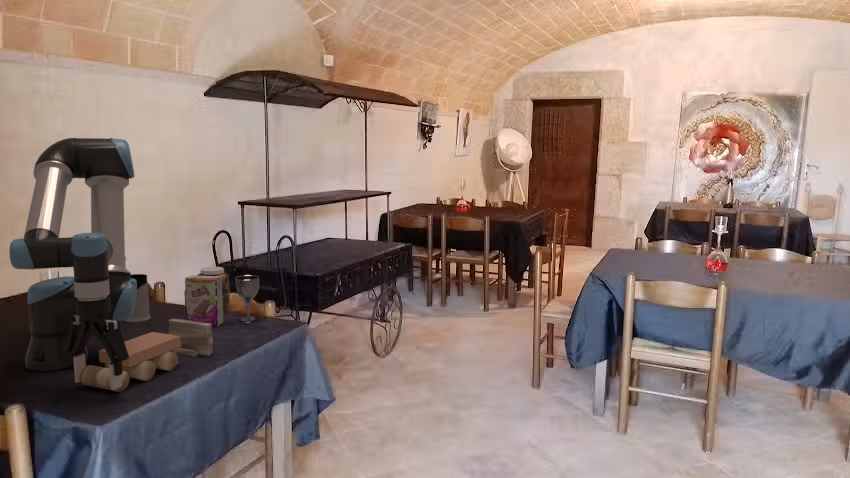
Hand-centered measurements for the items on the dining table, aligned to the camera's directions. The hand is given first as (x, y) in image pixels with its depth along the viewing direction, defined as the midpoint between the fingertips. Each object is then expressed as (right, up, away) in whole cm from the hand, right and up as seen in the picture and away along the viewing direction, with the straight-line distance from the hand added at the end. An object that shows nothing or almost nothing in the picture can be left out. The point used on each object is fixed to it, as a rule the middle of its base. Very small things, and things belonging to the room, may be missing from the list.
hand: (98, 384), depth 157 cm
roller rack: (+7, +1, +19) cm, 21 cm away
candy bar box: (+6, +7, +59) cm, 59 cm away
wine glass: (+19, +8, +65) cm, 68 cm away
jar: (+2, +10, +79) cm, 80 cm away
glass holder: (-22, +8, +65) cm, 69 cm away
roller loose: (0, -1, 0) cm, 1 cm away
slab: (+5, +5, +13) cm, 15 cm away
